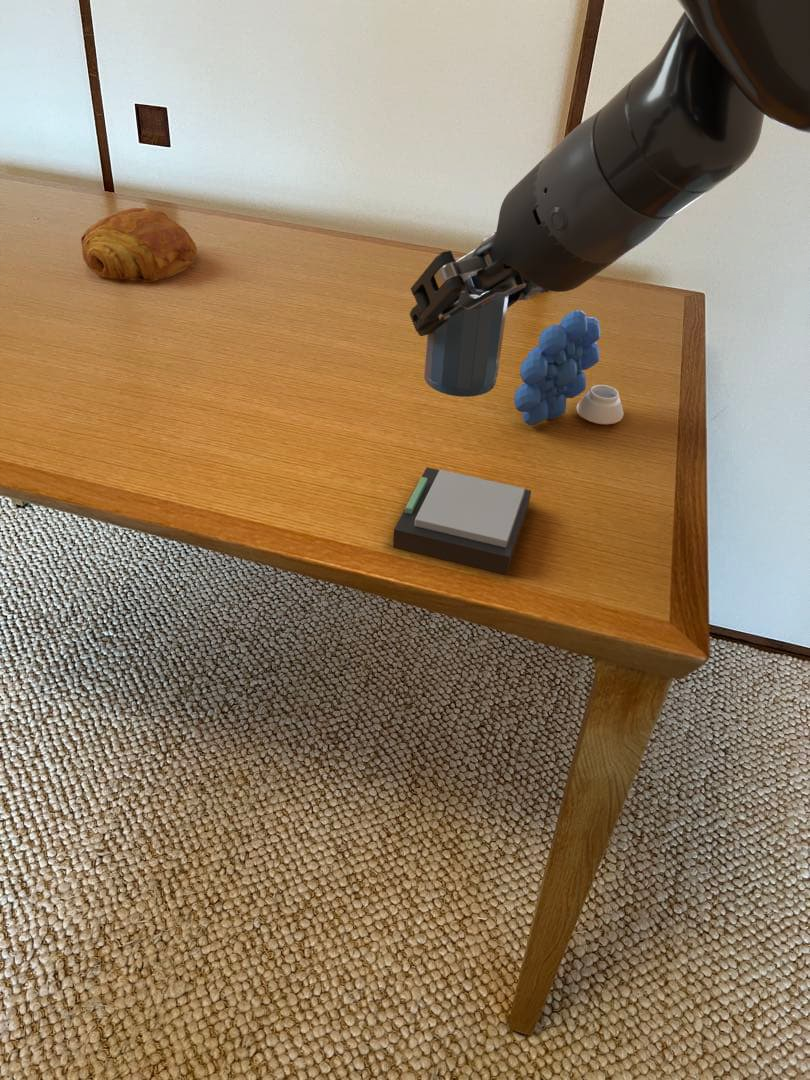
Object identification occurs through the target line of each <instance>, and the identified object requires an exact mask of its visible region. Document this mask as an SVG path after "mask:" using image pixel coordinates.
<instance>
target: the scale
mask: <svg viewBox="0 0 810 1080" xmlns="http://www.w3.org/2000/svg"><path fill="white" fill-rule="evenodd" d="M531 495H532V490H530V489H527V488H525V487H521V486H516V485H512V484H507V483H502V482H498V481H494V480H489V479H485V478H480V477H475V476H471V475H468V474H462V473H457V472H453V471H449V470H445V469H436V468H432V467H431V468H430V467H426V468H425V469H424V471H423V472H422V475H421V477H420V479H419V481H418V483H417V485H416V487H415V489H414V490H413V493H412V494H411V496H410V498H409V500H408V502H407V504H406V506H405V508H404V509H403V511H402V513H401V515H400V517H399V518H398V521H397V523H396V525H395V526H394V529H393V538H392V539H393V540H392V548H395V549H399V550H403V551H407V552H411V553H415V554H419V555H424V556H426V557H427V556H428V557H432V558H436V559H440V560H443V561H448V562H452V563H456V564H460V565H465V566H468V567H472V568H476V569H481V570H485V571H489V572H492V573H497V574H500V575H505V576H506V575H507V574H508V572H509V568H510V565H511V562H512V560H513V556H514V552H515V549H516V546H517V543H518V540H519V538H520V535H521V531H522V528H523V525H524V521H525V518H526V516H527V513H528V511H529V510H528V509H529V505H530V500H531Z"/></svg>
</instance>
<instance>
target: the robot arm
mask: <svg viewBox="0 0 810 1080" xmlns="http://www.w3.org/2000/svg"><path fill="white" fill-rule="evenodd" d="M677 1H678V3H679V5H680V6H681V8H682V9H683V12H682V14H681V16H680V17H679V19H678V21H677V22H676V24H675V26H674V27H673V29H672V31H671V32H670V35H669V36H668V38H667V40H666V42H665V43H664V45H663V46H662V48H661V49H660V51H659V52H658V54H657V55H656V57H655V58H654V59H653V60H651V61H650V62H649V63H648V64H647V65H646V66H645V67H644V68H643V69H642V70H640V72H638V73H637V74H636V75H635V76H634V77H633V78H632V79H631V80H630V81H629V82H628V83H626V84H625V85H624V86H623V88H621V89H620V90H619V92H617V93H616V94H615V95H614V96H613V97H612V98H611V99H610V100H609V101H608V102H606V104H605V105H604V106H603V107H601V108H600V109H599V110H598V111H596V112H595V113H594V114H593V115H591V116H590V117H588V118H586V119H584V121H582V122H580V124H578V125H577V126H576V127H574V128H573V129H572V130H571V132H569V133H567V135H566V136H565V137H564V138H563V139H562V140H561V141H560V142H558V144H557V145H556V146H555V147H554V148H552V150H551V151H550V152H548V153H547V154H546V155H545V156H544V157H543V158H542V159H541V160H540V161H539V162H538V163H537V164H536V165H535V166H534V167H533V168H532V169H531V170H530V171H529V172H528V173H527V174H526V175H525V176H523V178H521V180H520V181H518V182H517V183H516V184H515V185H514V186H513V187H512V188H511V189H510V190H509V192H508V193H507V194H506V195H505V197H504V199H503V201H502V202H501V206H500V209H499V214H498V219H497V226H496V231H495V232H493V233H491V234H490V235H488V236H486V237H485V238H483V239H482V240H481V242H480V244H479V246H478V247H475V248H474V249H473V250H471V251H468V252H467V253H466V254H464V255H463V256H461V257H460V258H458V259H456V258H455V255H454V252H453V250H447V251H442V252H440V253H439V254H438V255H437V256H435V258H434V259H433V260H432V261H431V262H430V264H428V266H427V268H426V269H425V270H424V271H423V272H422V274H421V275H420V276H419V277H418V279H417V280H416V281H415V282H414V284H412V286H411V287H410V291H411V294H412V296H413V297H414V300H415V302H416V305H414V306H413V307H412V308H411V309H410V312H409V317H410V320H411V322H412V325H413V327H414V330H415V332H417V335H418V336H420V337H424V336H427V335H429V334H431V333H432V332H433V331H434V330H435V329H437V328H438V327H439V326H440V325H442V324H443V323H444V322H445V321H447V320H448V319H450V318H451V316H453V315H455V314H456V313H458V312H460V311H462V310H463V309H479V308H481V307H483V306H485V305H487V304H488V303H490V302H492V301H494V300H495V299H497V298H499V297H501V296H502V295H504V294H507V295H509V297H508V304H507V309H509V308H510V307H511V306H513V305H514V304H516V303H517V302H518V301H526V300H528V299H530V297H532V296H533V295H535V294H538V293H548V292H555V293H563V292H564V293H565V292H570V291H572V290H575V289H577V288H578V287H579V288H580V286H582V285H584V284H585V283H587V281H589V280H590V279H592V278H593V277H595V276H596V275H598V274H600V272H602V271H604V270H605V269H606V268H608V267H609V266H611V265H612V264H613V263H615V262H617V261H618V260H619V259H620V258H622V257H624V256H625V255H627V254H628V253H629V252H631V251H632V250H634V249H635V248H637V247H638V246H640V245H641V244H642V243H644V242H645V241H647V240H648V239H649V238H651V237H652V236H653V235H655V234H656V232H657V231H659V230H660V229H661V228H662V227H663V226H664V225H665V224H666V223H667V222H668V221H669V220H670V219H672V218H673V217H674V216H675V215H676V214H678V213H680V212H681V211H683V210H684V209H685V208H687V207H688V206H690V205H691V204H693V203H694V202H695V201H697V200H698V199H700V198H701V197H702V196H703V195H705V194H707V193H709V191H711V190H712V189H714V188H715V187H717V186H718V185H719V184H721V183H722V182H723V181H725V180H726V179H727V178H729V177H730V176H732V175H733V174H734V173H735V172H737V171H738V170H739V169H740V168H741V167H743V166H744V165H745V164H746V163H747V161H749V159H750V157H751V156H752V154H753V153H754V151H755V150H756V147H757V146H758V143H759V141H760V138H761V135H762V128H763V124H764V118H765V116H766V117H768V118H769V119H771V120H772V121H774V122H776V123H778V124H779V125H780V126H784V127H785V128H788V129H791V130H795V131H798V132H802V133H806V134H810V0H677ZM473 276H475V277H476V280H477V282H478V285H479V287H480V289H481V290H482V291H484V292H485V293H483V294H481V295H479V296H478V295H477V292H476V290H475V287H474V285H473V282H472V279H471V277H473ZM458 295H459V300H458V301H456V302H454V303H453V304H452V303H451V302H452V301H453V300H454V299H455V298H456V297H457V296H458Z"/></svg>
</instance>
